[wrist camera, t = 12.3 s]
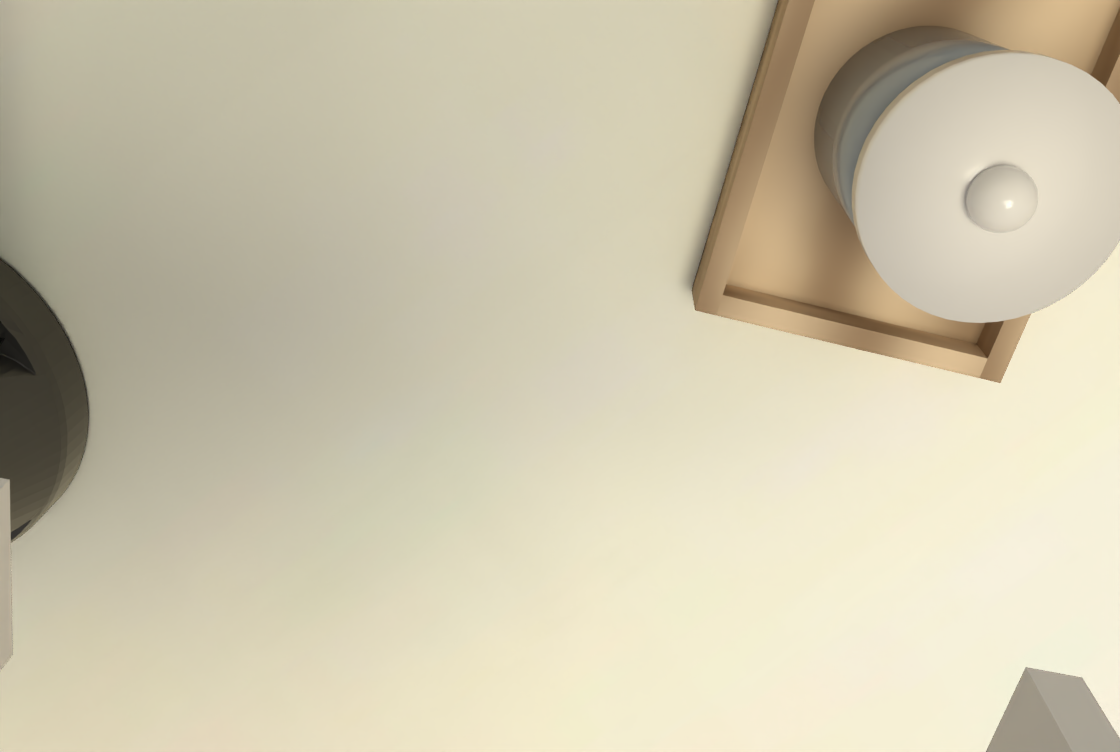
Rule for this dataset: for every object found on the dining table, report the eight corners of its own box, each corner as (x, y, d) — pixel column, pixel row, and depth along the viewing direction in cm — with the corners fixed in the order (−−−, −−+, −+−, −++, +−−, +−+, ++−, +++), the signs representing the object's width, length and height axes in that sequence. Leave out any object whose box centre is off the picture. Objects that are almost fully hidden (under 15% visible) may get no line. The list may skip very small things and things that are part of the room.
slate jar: (780, 206, 39) (829, 304, 29) (849, -5, 36) (928, 29, 26) (976, 254, 39) (1087, 366, 30) (1061, 49, 36) (1214, 101, 27)
